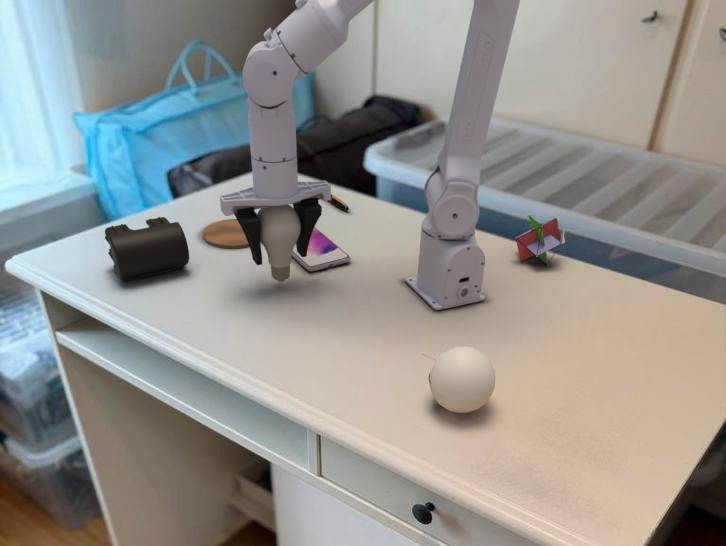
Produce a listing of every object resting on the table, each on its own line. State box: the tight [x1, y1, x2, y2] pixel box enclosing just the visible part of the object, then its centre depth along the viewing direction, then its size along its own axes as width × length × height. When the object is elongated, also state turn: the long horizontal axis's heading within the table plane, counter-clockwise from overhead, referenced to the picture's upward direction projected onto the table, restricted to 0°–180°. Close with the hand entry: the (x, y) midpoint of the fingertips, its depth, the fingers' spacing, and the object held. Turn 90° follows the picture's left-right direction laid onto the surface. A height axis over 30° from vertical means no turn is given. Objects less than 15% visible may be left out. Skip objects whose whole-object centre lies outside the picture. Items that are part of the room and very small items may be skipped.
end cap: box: [104, 216, 190, 282], centre depth 102 cm, size 10×7×7 cm
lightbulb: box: [257, 204, 301, 283], centre depth 97 cm, size 6×6×11 cm
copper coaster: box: [202, 218, 261, 249], centre depth 114 cm, size 10×10×1 cm
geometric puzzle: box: [515, 214, 566, 266], centre depth 108 cm, size 7×7×8 cm
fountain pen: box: [328, 194, 350, 212], centre depth 125 cm, size 14×1×2 cm, turn 33°
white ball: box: [421, 345, 496, 414], centre depth 80 cm, size 10×7×7 cm
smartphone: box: [292, 226, 351, 272], centre depth 111 cm, size 7×1×15 cm
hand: (280, 257), depth 99 cm, fingers closed on lightbulb, 6 cm apart
